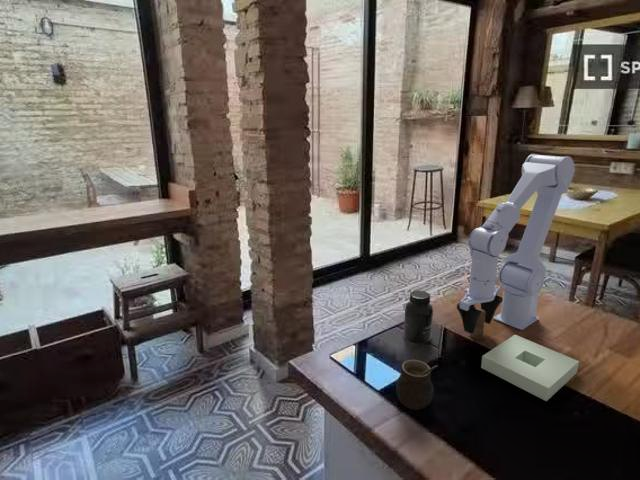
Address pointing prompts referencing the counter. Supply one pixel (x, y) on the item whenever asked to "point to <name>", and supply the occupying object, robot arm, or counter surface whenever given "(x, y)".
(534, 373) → the socket block
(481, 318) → the dowel
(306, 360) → the counter surface
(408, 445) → the counter surface
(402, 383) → the mate gourd
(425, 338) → the supplement bottle
